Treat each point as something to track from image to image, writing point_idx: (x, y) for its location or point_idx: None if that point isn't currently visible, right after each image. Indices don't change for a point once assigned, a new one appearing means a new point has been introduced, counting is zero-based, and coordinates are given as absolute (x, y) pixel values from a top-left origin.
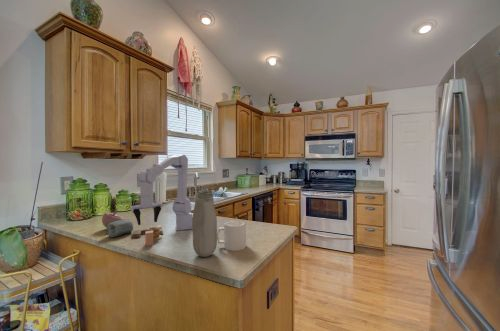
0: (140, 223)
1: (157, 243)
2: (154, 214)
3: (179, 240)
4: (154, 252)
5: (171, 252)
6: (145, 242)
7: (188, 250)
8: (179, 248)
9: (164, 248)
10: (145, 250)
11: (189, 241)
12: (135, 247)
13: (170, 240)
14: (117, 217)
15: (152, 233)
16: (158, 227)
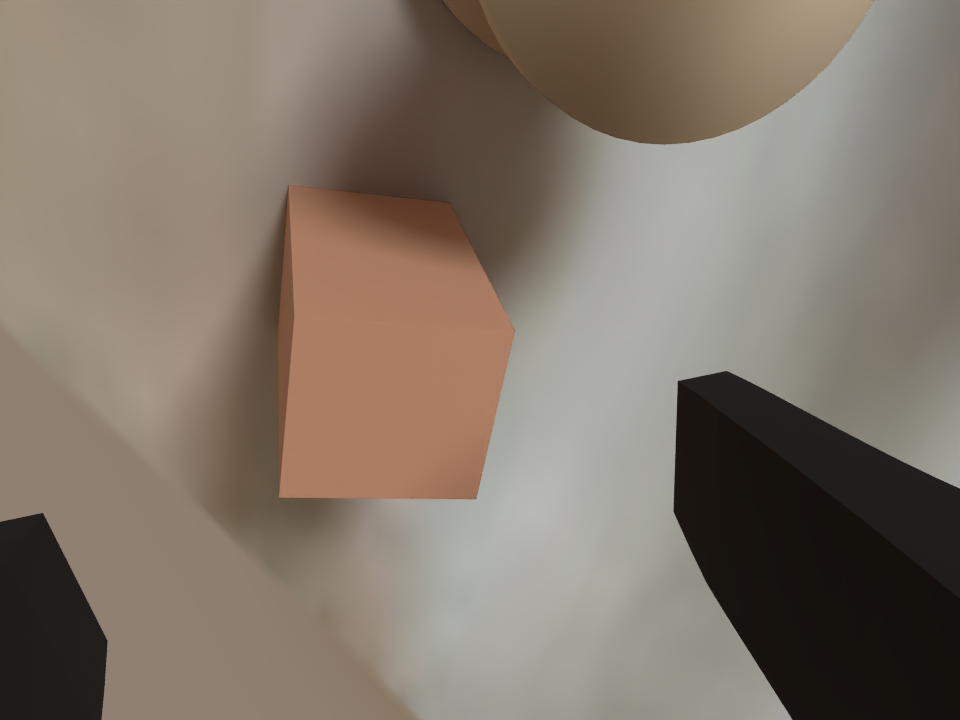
0: (101, 703)
1: (507, 303)
2: (885, 609)
3: (865, 332)
4: (384, 646)
5: (571, 702)
6: (278, 365)
7: (747, 705)
8: (699, 627)
9: (541, 565)
10: (266, 539)
11: (936, 445)
12: (75, 328)
13: (756, 253)
14: None
15: (454, 483)
16: (746, 77)
